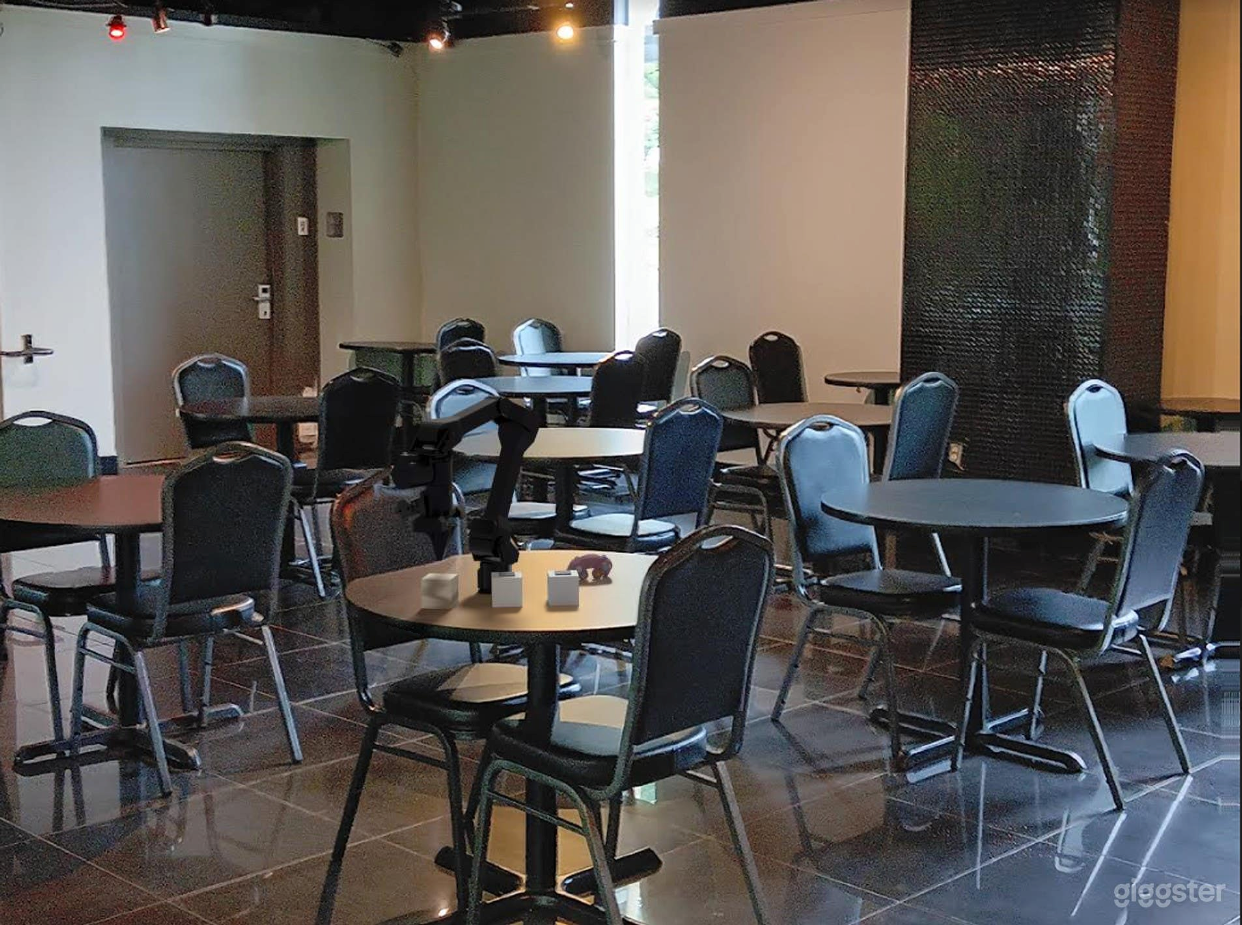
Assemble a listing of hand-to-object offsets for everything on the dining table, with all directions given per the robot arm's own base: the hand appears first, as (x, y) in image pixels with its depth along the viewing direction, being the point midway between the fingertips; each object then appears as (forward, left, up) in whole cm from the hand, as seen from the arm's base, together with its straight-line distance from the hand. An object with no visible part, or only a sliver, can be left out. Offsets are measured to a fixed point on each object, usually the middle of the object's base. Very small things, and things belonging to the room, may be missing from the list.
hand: (439, 560), depth 308 cm
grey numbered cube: (-24, -6, -9) cm, 26 cm away
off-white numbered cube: (-13, -3, -9) cm, 16 cm away
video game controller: (-25, -30, -10) cm, 40 cm away
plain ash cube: (0, 0, -9) cm, 9 cm away
